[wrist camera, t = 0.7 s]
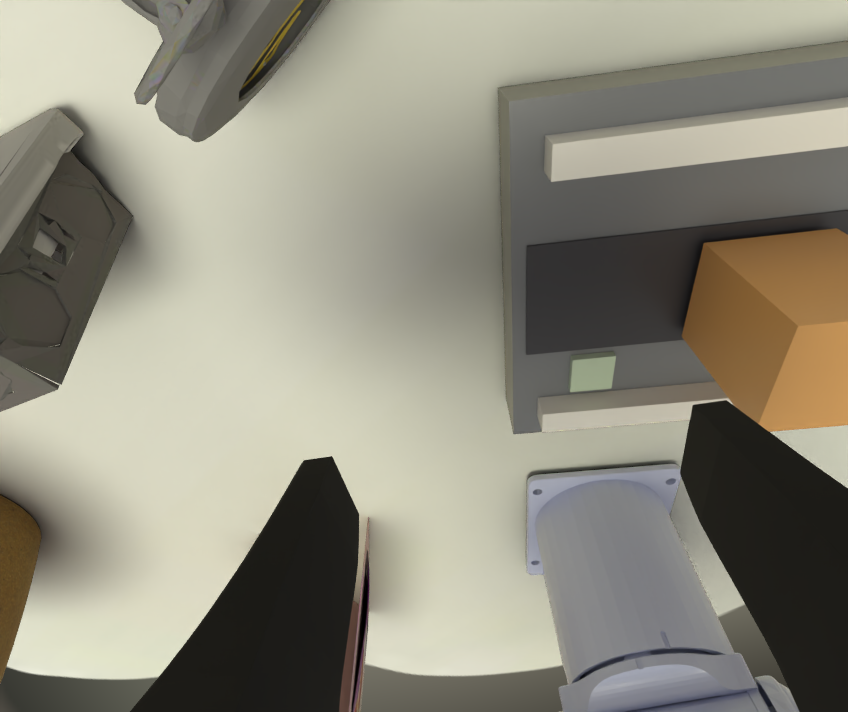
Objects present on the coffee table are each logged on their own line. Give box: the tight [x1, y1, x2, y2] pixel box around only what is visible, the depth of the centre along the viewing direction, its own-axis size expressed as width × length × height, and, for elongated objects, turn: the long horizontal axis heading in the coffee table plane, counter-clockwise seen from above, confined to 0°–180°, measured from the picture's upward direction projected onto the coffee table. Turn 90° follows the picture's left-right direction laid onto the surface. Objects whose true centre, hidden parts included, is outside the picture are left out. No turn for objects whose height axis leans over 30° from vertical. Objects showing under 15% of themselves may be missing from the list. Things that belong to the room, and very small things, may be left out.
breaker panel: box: [498, 41, 848, 434], centre depth 17 cm, size 13×16×3 cm
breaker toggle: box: [682, 228, 848, 432], centre depth 14 cm, size 4×4×5 cm
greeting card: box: [339, 517, 369, 712], centre depth 26 cm, size 11×7×15 cm, turn 176°
